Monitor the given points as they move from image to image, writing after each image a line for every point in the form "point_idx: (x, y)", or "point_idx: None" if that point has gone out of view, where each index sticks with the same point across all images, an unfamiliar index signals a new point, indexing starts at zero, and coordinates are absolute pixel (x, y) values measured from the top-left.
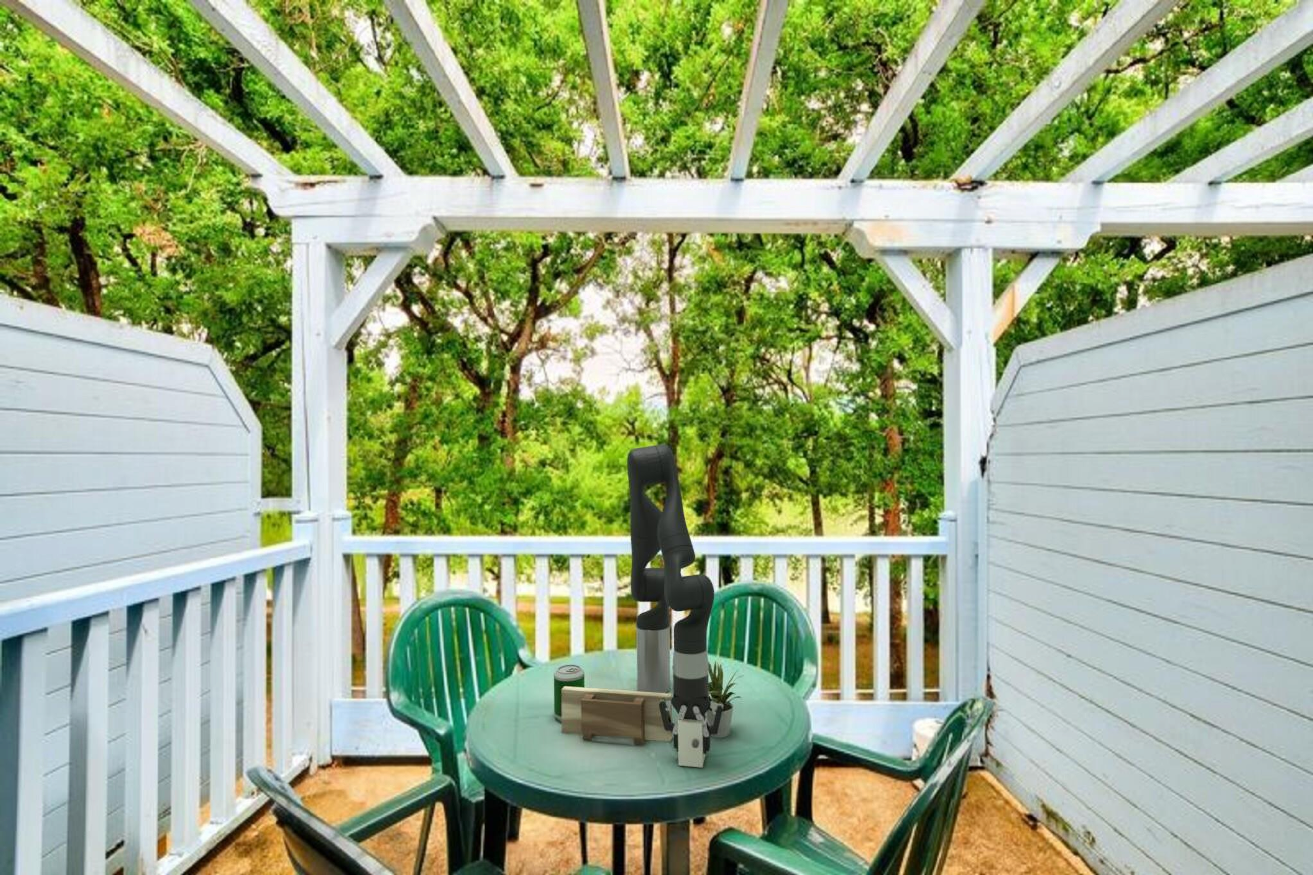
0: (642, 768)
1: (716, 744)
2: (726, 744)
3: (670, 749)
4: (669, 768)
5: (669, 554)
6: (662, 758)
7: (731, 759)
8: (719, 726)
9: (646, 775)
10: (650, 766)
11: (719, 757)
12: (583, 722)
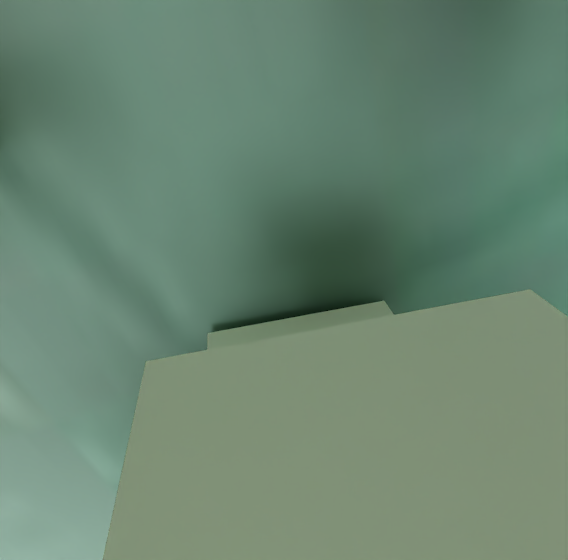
0: (38, 525)
1: (452, 56)
2: (546, 24)
3: (77, 283)
4: None
5: None
6: (91, 408)
7: (558, 261)
8: None
9: (102, 556)
10: (71, 497)
11: (478, 264)
12: None
